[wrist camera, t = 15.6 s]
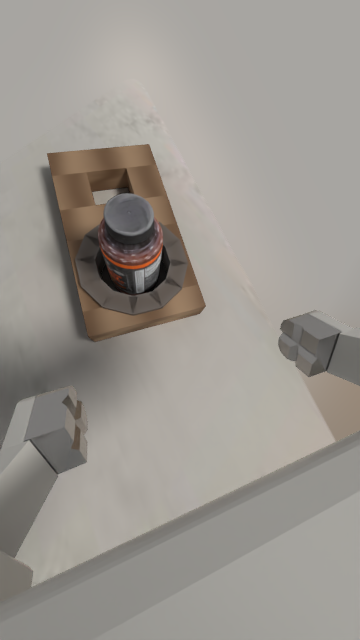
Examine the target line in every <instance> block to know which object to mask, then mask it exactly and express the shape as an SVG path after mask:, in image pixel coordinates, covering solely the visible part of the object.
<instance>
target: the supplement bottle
mask: <svg viewBox="0 0 360 640" xmlns="http://www.w3.org/2000/svg"><path fill="white" fill-rule="evenodd" d="M103 215H104V218H103V219H102V221H101V223H100V225H99V228H98V241H99V245H100V248H101V251H102V254H103V257H104V260H105V263H106V266H107V269H108V272H109V275H110V277H111V280H112V282H113V284H114V285H115V287H116V288H117V289H118V290H120V291H121V292H123V293H125V294H127V295H131V296H135V295H140V294H144V293H147V292H149V291H150V290H151V289H152V288H153V287H154V286H155V284H156V282H157V280H158V275H159V269H160V261H161V254H162V246H163V232H162V228H161V226H160V224H159V222H158V221H157V219H156V218H155V217H154V212H153V208H152V206H151V205H150V203H149V202H148V201H146V200H145V199H144V198H143V197H141V196H138V195H135V194H130V193H124V194H119V195H116V196H114V197H113V198H111V199H110V200H109V201H108V202H107V203H106V205H105V207H104V213H103Z"/></svg>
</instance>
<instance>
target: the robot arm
mask: <svg viewBox="0 0 360 640" xmlns="http://www.w3.org/2000/svg"><path fill="white" fill-rule="evenodd" d="M280 329H281V331H282V332H283V333H282V334H281V336H280V337H279V341H278V346H279V349H280V351H281V353H282V354H283V355H284V356H285V357H286V358H287V359H289V360H292V361H295V365H296V367H297V368H298V369H300V370H301V371H302V372H303V373H304V374H306V375H307V376H308V377H311V376H314V375H317V374H319V373H322V372H325V371H327V372H328V373H331V374H333V375H335V376H338V377H340V378H342V379H345V380H347V381H350V382H352V383H354V384H356V385H359V386H360V328H354V329H353V328H351V327H350V326H348V325H346V324H344V323H342V322H340V321H338V320H336V319H334V318H332V317H330V316H329V315H327V314H325V313H323V312H321V311H317V310H314V311H311V312H308V313H305V314H303V315H299V316H296V317H293V318H290V319H287V320H284V321H283V322H282V324H281V328H280ZM87 430H88V421H87V415H86V411H85V408H84V405H83V403H82V402H81V401H78V400H77V392H76V390H75V388H74V386H71V385H70V386H67V387H63V388H60V389H56V390H53V391H49V392H45V393H42V394H38V395H36V396H32V397H29V398H25V399H22V400H20V401H19V402H18V403H17V405H16V407H15V410H14V413H13V416H12V419H11V422H10V424H9V427H8V430H7V433H6V436H5V439H4V441H3V444H2V447H1V450H0V640H360V431H358V432H356V433H353V434H351V435H349V436H347V437H345V438H343V439H341V440H339V441H337V442H335V443H332V444H330V445H328V446H326V447H324V448H322V449H320V450H318V451H316V452H314V453H312V454H309V455H307V456H305V457H303V458H301V459H299V460H297V461H295V462H293V463H291V464H288V465H286V466H284V467H282V468H280V469H278V470H276V471H274V472H272V473H270V474H268V475H265V476H263V477H261V478H259V479H257V480H255V481H253V482H251V483H249V484H247V485H244V486H242V487H240V488H238V489H236V490H234V491H232V492H230V493H228V494H226V495H224V496H221V497H219V498H217V499H215V500H213V501H211V502H209V503H207V504H205V505H203V506H201V507H198V508H196V509H194V510H192V511H190V512H188V513H186V514H184V515H182V516H180V517H178V518H175V519H173V520H171V521H169V522H167V523H165V524H163V525H161V526H159V527H157V528H155V529H152V530H150V531H148V532H146V533H144V534H142V535H140V536H138V537H136V538H134V539H132V540H129V541H127V542H125V543H123V544H121V545H119V546H117V547H115V548H113V549H111V550H108V551H106V552H104V553H102V554H100V555H98V556H96V557H94V558H92V559H90V560H88V561H85V562H83V563H81V564H79V565H77V566H75V567H73V568H71V569H69V570H67V571H65V572H62V573H60V574H58V575H56V576H54V577H52V578H50V579H48V580H46V581H44V582H42V583H39V584H37V585H35V586H33V587H31V584H32V577H33V570H32V569H31V568H30V567H29V566H27V565H25V564H24V563H22V562H20V561H18V560H16V559H15V556H16V554H17V552H18V550H19V548H20V547H21V545H22V543H23V541H24V539H25V537H26V535H27V533H28V532H29V530H30V528H31V526H32V524H33V522H34V520H35V518H36V517H37V515H38V513H39V511H40V509H41V507H42V505H43V503H44V502H45V500H46V498H47V496H48V494H49V492H50V490H51V488H52V487H53V485H54V483H55V481H56V479H57V477H58V475H57V474H60V473H62V472H65V471H67V470H69V469H72V468H74V467H77V466H79V465H82V464H84V463H86V462H87V440H86V439H85V437H84V434H85V433H86V431H87Z"/></svg>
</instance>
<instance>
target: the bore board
mask: <svg viewBox="0 0 360 640" xmlns="http://www.w3.org/2000/svg"><path fill="white" fill-rule="evenodd" d="M47 156H48V160H49V165H50V169H51V174H52V178H53V182H54V187H55V191H56V196H57V200H58V205H59V209H60V214H61V218H62V223H63V227H64V231H65V236H66V240H67V245H68V249H69V254H70V258H71V263H72V267H73V271H74V276H75V280H76V285H77V289H78V294H79V298H80V303H81V307H82V312H83V316H84V320H85V325H86V329H87V334H88V337H89V338H90V339H91V340H93V341H94V342H96V341H100V340H104V339H107V338H111V337H115V336H119V335H122V334H126V333H130V332H134V331H137V330H141V329H145V328H148V327H152V326H156V325H160V324H163V323H167V322H171V321H175V320H178V319H182V318H186V317H189V316H193V315H197V314H200V313H201V312H202V310H203V309H204V308H205V307H206V305H205V302H204V299H203V297H202V294H201V291H200V288H199V285H198V282H197V279H196V277H195V274H194V271H193V268H192V265H191V262H190V260H189V257H188V254H187V251H186V248H185V245H184V242H183V240H182V237H181V234H180V231H179V228H178V225H177V222H176V220H175V217H174V214H173V211H172V208H171V205H170V202H169V200H168V197H167V194H166V191H165V188H164V185H163V183H162V180H161V177H160V174H159V171H158V168H157V165H156V163H155V160H154V157H153V154H152V151H151V148H150V145H149V144H146V145H135V146H124V147H113V148H102V149H91V150H80V151H69V152H58V153H47ZM124 187H128V189H129V192H130V194H135V195H138V196H141V197H143V198H144V199H145V200H146V201H148V202H149V203H150V205H151V206H152V208H153V212H154V217H155V218H156V219H157V221H158V222H159V224H160V226H161V228H162V232H163V246H162V254H161V260H162V261H163V264H164V267H165V270H166V273H167V277H166V280H164V281H163V282H162V283H161V284H160V285H159V286H158V287H157V288H156V289H155V290H154V291H152V292H148V293H144V294H140V295H135V296H131V295H127V294H124V293H120V292H116V291H113V290H112V289H111V288H110V287H109V286H108V285H107V284H106V283H105V282H104V281H103V280H102V276H101V273H102V270H103V268H104V265H105V260H104V257H103V254H102V251H101V248H100V245H99V241H98V228H99V225H100V223H101V221H102V219H103V218H104V215H103V213H104V207H105V205H106V204H101V205H95V202H94V198H93V194H92V192H93V191H101V190H108V189H116V188H124Z"/></svg>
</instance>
